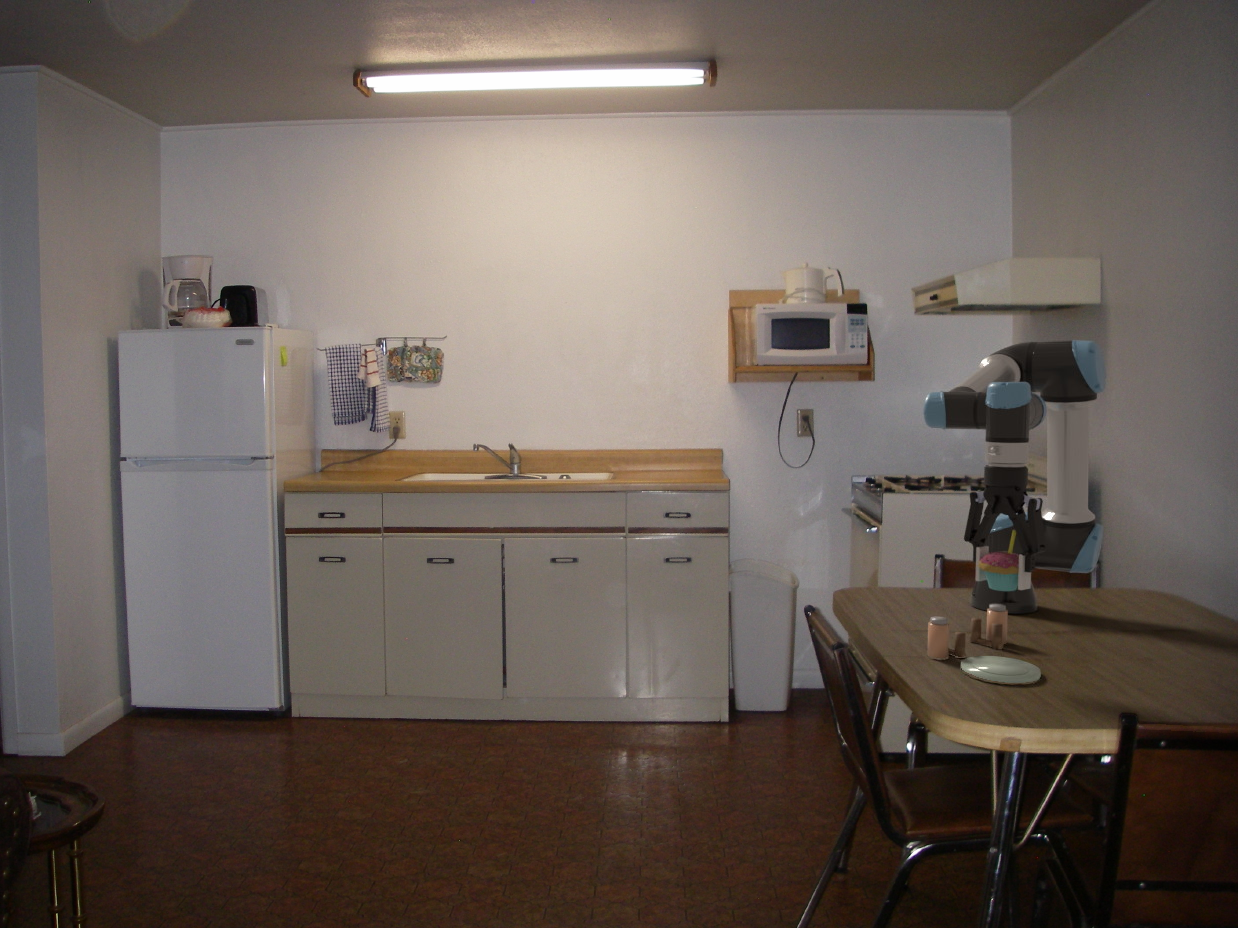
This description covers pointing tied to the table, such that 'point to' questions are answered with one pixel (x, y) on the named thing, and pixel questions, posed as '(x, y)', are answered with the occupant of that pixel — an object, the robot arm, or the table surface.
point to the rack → (977, 637)
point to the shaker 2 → (997, 620)
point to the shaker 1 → (938, 637)
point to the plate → (1001, 669)
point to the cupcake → (1001, 568)
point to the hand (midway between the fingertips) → (1002, 584)
